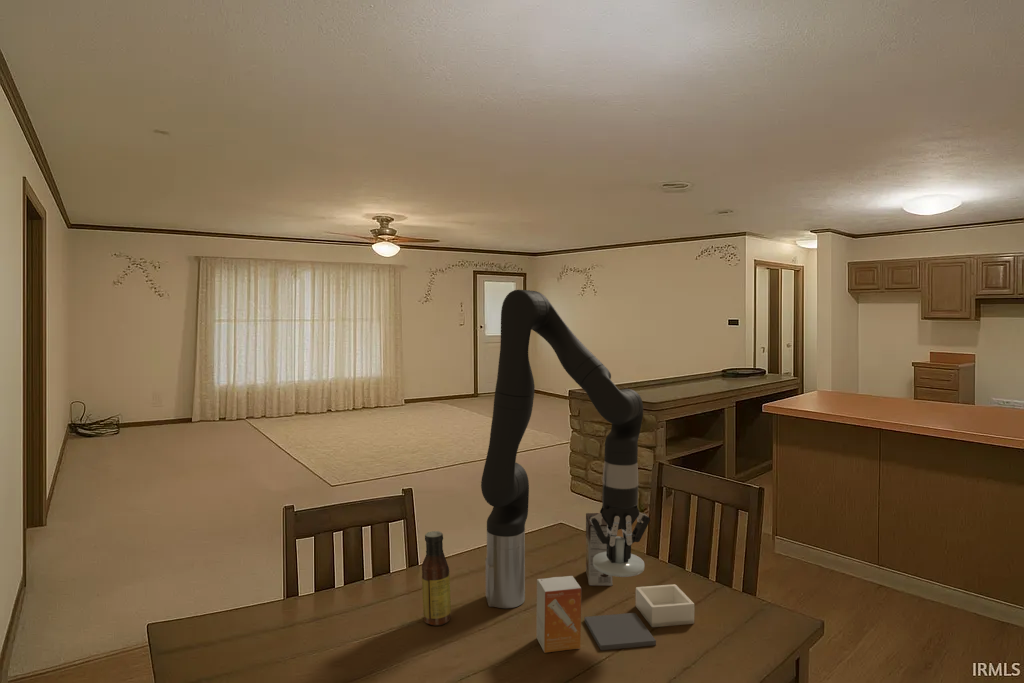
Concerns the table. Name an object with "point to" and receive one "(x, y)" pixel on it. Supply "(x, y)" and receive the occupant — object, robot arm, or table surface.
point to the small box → (558, 613)
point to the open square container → (664, 605)
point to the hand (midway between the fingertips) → (618, 560)
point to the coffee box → (595, 553)
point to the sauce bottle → (435, 581)
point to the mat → (619, 631)
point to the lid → (618, 562)
